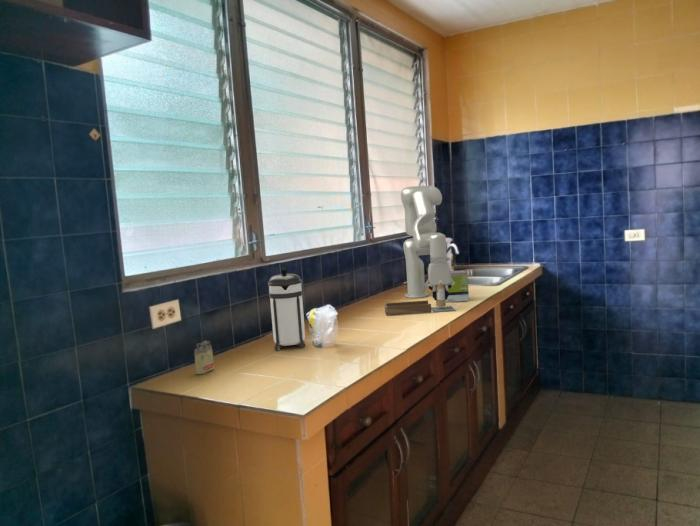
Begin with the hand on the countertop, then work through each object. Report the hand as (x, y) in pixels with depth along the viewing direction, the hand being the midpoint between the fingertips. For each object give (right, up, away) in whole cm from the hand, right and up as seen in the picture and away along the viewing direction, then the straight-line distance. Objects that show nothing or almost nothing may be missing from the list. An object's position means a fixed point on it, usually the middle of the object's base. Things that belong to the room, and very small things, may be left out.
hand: (440, 298), depth 258 cm
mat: (+1, -5, 0) cm, 5 cm away
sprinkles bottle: (0, -4, 0) cm, 4 cm away
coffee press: (-66, -15, -47) cm, 82 cm away
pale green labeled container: (-91, -19, -75) cm, 119 cm away
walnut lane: (-15, -6, 0) cm, 16 cm away
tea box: (+10, -3, +22) cm, 24 cm away
